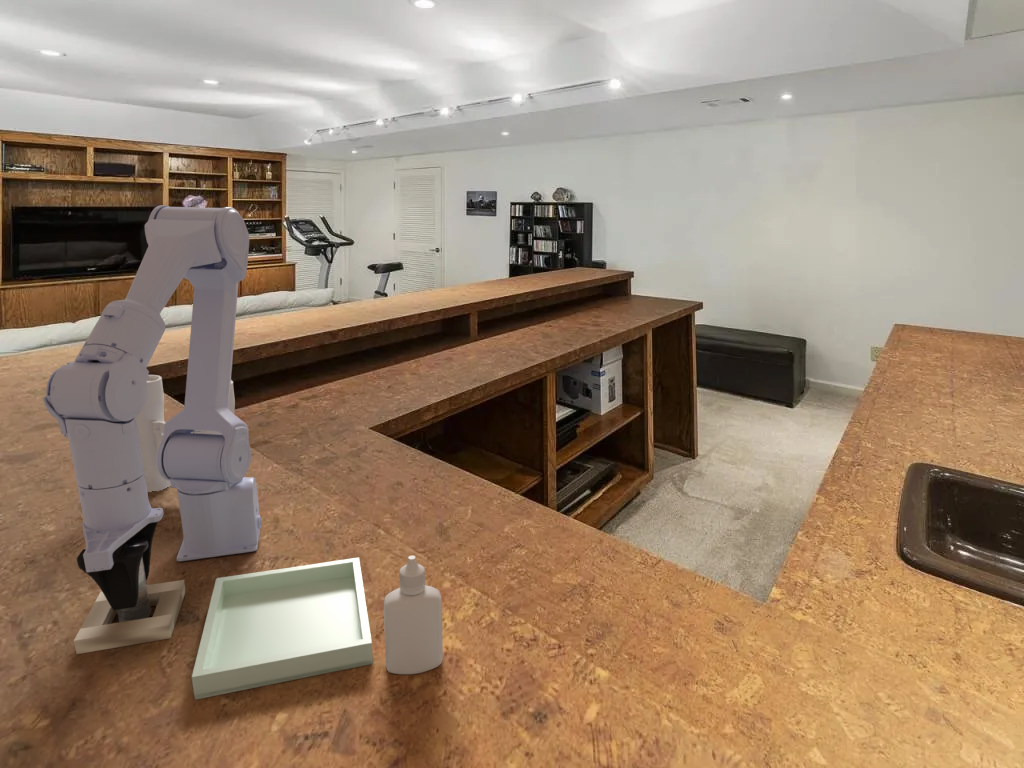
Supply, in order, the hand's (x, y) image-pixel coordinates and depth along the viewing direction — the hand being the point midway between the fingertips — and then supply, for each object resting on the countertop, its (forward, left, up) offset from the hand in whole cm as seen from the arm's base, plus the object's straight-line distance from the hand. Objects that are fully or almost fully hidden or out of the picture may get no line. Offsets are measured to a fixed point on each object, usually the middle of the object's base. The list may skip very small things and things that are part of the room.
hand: (131, 593), depth 64 cm
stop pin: (0, 0, -3) cm, 3 cm away
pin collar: (0, 0, -3) cm, 3 cm away
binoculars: (0, -34, -4) cm, 34 cm away
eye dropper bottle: (-28, +15, -4) cm, 32 cm away
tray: (-16, +6, -3) cm, 17 cm away
